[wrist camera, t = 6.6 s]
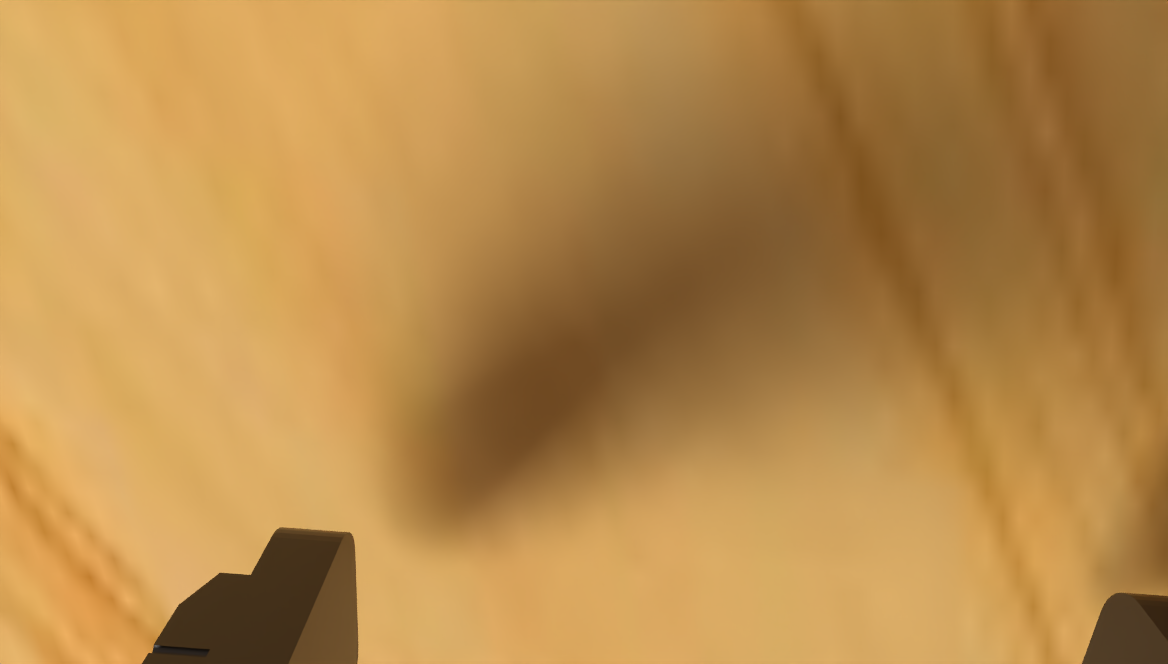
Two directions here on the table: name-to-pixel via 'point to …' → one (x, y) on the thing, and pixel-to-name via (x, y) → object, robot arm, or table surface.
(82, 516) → the table surface
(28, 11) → the table surface
